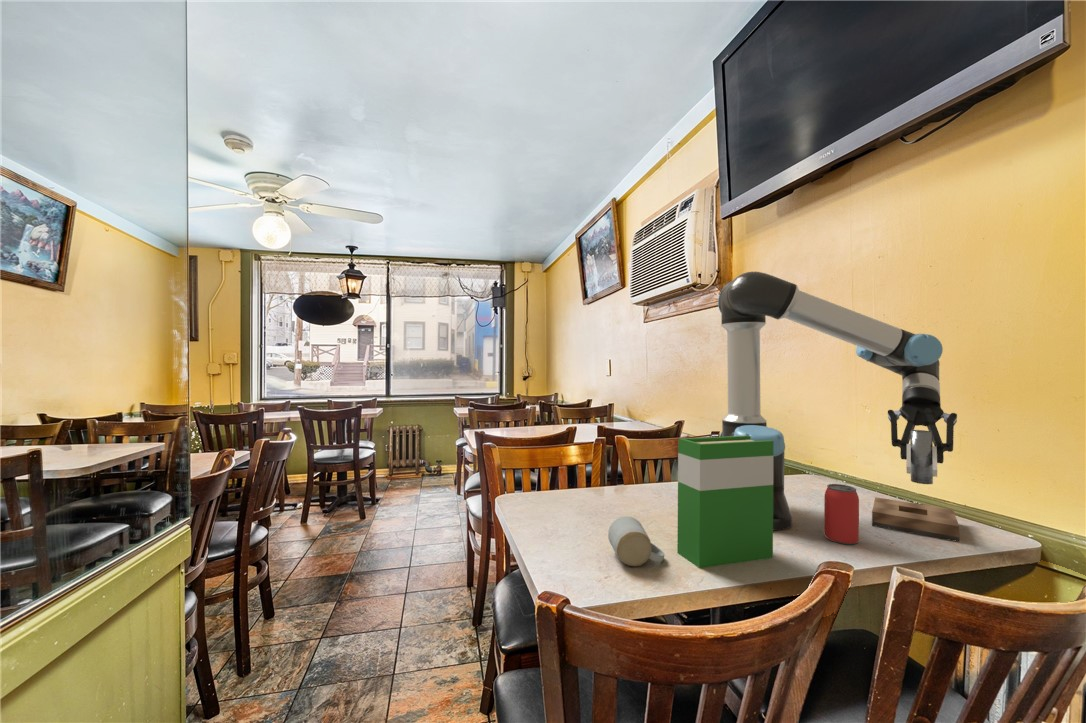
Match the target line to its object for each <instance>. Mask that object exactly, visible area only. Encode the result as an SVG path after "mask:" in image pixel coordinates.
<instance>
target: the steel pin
mask: <svg viewBox="0 0 1086 723" xmlns="http://www.w3.org/2000/svg"><path fill="white" fill-rule="evenodd" d="M909 443H910V444H911V474H910V481H911V482H912V483H915V484H918V485H919V484H920V485H921V484H922V485H933V484H934V476H933V464H932V447H933V446H934V443H933V433H932V432H931V431H929V430H924V429H923V430H922V429H921V430H920V429H914V430H910V441H909Z"/></svg>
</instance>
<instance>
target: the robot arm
mask: <svg viewBox="0 0 1086 723" xmlns="http://www.w3.org/2000/svg"><path fill="white" fill-rule="evenodd" d="M717 300H718V301H717V303H718V304H717V306H718V309H719V311H720V313H721V327H722V328H724V330H725V331H726V333H727V334H726V336H727V339H726V340H727V341H726V343H727V344H726V348H727V349H726V350H727V354H726V355H727V356H726V357H727V361H726V362H727V413H726V415H725V416H724V417H722V423H721V425H722V426H721V427H722V429H721V430H722V431H721V433H720V435H719V437H727V436H751V440H753V441H766V440H771V441H774V444H773V531H781V530H786V529H789V528H791V527H792V526H793V516H792V515H793V514H792V512H791V510H790V506H789V504H788V501H787V500H788V499H787V497H786V495H785V450H786V443H785V436H784V434H783V433H782V432H781V431H780V430H778V429H777V428H774V427H768V425H767V424H768V422H767V419H765V418H764V416H762V415H761V329H762V328H763V327H764V326H766V324H767V323H766V322H767V321H766V320H767V319H766V317H770V318H773V319H775V320H777V321H779V320H782V319H786V320H789V321H791V322H794V323H797V324H800V325H802V326H804V327H807V328H809V329H813V330H816V331H818V332H820V333H823V334H825V335H827V336H831V337H833V338H836V339H839V340H842V341H844V342H845V343H846V342H847V343H849V344H852V345H854V346H856V348H855V353H856V355H857V357H858V358H861V359H863V360H865V361H866V362H869V363H872V364H874V365H876V366H879V367H881V368H883V369H886V370H888V371H890V372H892V373H894V374H898V375H899V376H901V377H902V378H901V379H902V380H901V381H902V383H901V384H902V387H901V388H902V389H901V390H902V397H901V400H902V401H901V407H900V408H899V410H893V409H888V410H887V418H888V420H889V422H890V428H891V429H890V438H891V439H890V440H891V446H892V447H894V448H896V447H898V448H900V454H899V455H900V458H901V460H906V474H909V475H911V443H910V430H915V427H917V426H922V427H926V428H927V431H931V432H932V433H933V447H932V464H933V478H934V477H935V478H938V464H943V463H944V460H945V459H944V458H945V457H944V453H945V452H948V453H950V452H951V453H953V451H954V436H955V435H954V432H955V431H954V427H955V425H956V423H957V422H958V413H955V412H951V413H947V412H944V409H942V408H941V407H942V406H941V405H942V404H941V403H942V402H941V386H940V385H941V383H940V364H941V363H940V358H941V357H942V354H943V349H944V348H943V344H942V342H941V341H940V339H939V338H937V337H936V336H935V335H932V334H927V333H914V332H910V331H908V330H905V329H902V328H900V327H896V326H894V325H891V324H888V323H886V322H883V321H881V320H879V319H875V318H872V317H870V316H867V315H865V314H862V313H859V312H858V311H854V310H852V309H849V308H847V307H845V306H843V305H839V304H837V303H833V302H832V301H831V302H830V301H829V300H825V299H823V298H820V297H817V296H815V295H813V294H810V293H807V292H805V291H802V290H800V289H799V287H798V285H797V284H795V283H793V282H790V281H788V280H785V279H782V278H780V277H778V276H774V275H771V274H768V273H766V272H762V271H761V272H760V271H747V272H744V273H742V274H739V275H737V277H735V278H734V279H733V280H731V281H729V282H728V283H726V285H724V287H723V288H722V289H721V291H720V293H719V295H718V299H717ZM900 416H901V417H902V418H903V419H904V420H905V421H907V422H906V425H905V428H904V430H903V434H902V436H901V439H899V438H898V420H900ZM941 419H943V422H945V423H946V432H945V433H946V438H945V439H946V440H945V442H943V441H942V438H941V435H940V433H939V430H938V428H937V425H936V423H937V422H938V421H940V420H941Z"/></svg>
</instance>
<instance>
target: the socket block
mask: <svg viewBox="0 0 1086 723" xmlns="http://www.w3.org/2000/svg"><path fill="white" fill-rule="evenodd" d="M871 525H872V526H873V527H878V528H882V529H883V528H884V529H888V530H893V531H898V532H899V531H900V532H904V533H905V532H906V533H910V534H916V535H920V536H925V535H926V537H931V536H932V537H931V538H936V537H938V538H937V539H941V538H944V539H943V540H947V539H950V540H949V541H952V540H956V541H955V542H958V541H959V542H960V524H959V522H958V519H957V516H956V514H955V510H954V509H953V508H947V507H940V506H936V505H935V506H934V505H928V504H921V503H915V502H909V501H902V500H895V499H887V498H882V497H877V496H876V497H874V501H873V506H872V511H871Z"/></svg>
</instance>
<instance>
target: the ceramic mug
mask: <svg viewBox="0 0 1086 723" xmlns="http://www.w3.org/2000/svg"><path fill="white" fill-rule="evenodd" d="M607 537H608V541H609V543H610V545H611V547H612V549H613V551H614V552H615V555H616V557H617V558H618V559H619V560H620V561H621V563H623V564H624V565H626V566H629V567H639V566H642V565H644V564H645V563H646V562H647V561H648V560H649V561H652V562H655V563H657V564H658V563H662V562H663V561H664V558H665V552H663V550H662V549H661V548H659V547H658V546H657V545H655V543H652V542H651V539H650V537H649V535H648V533H647V532H646V530H645V528H644V527H643V525H642V523H641V522H640V521H639V520H638V519H636V518H634V517H632V516H629V515H623V516H619V517H618V518H616V519H615V520H613V522H611V524H610V525H609V528H608V536H607Z"/></svg>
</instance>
